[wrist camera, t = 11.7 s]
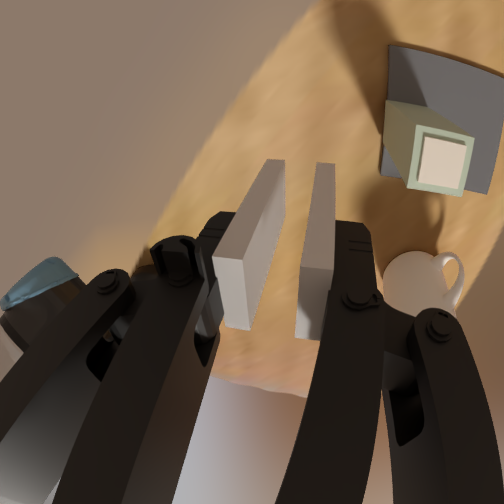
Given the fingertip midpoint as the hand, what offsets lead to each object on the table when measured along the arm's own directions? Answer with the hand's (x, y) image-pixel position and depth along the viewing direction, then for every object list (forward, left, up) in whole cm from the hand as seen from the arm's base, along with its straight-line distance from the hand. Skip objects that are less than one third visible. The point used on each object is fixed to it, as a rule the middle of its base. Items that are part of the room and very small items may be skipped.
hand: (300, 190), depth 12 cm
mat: (+14, +1, -18) cm, 23 cm away
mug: (+15, -18, -19) cm, 30 cm away
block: (+9, 0, -18) cm, 20 cm away
